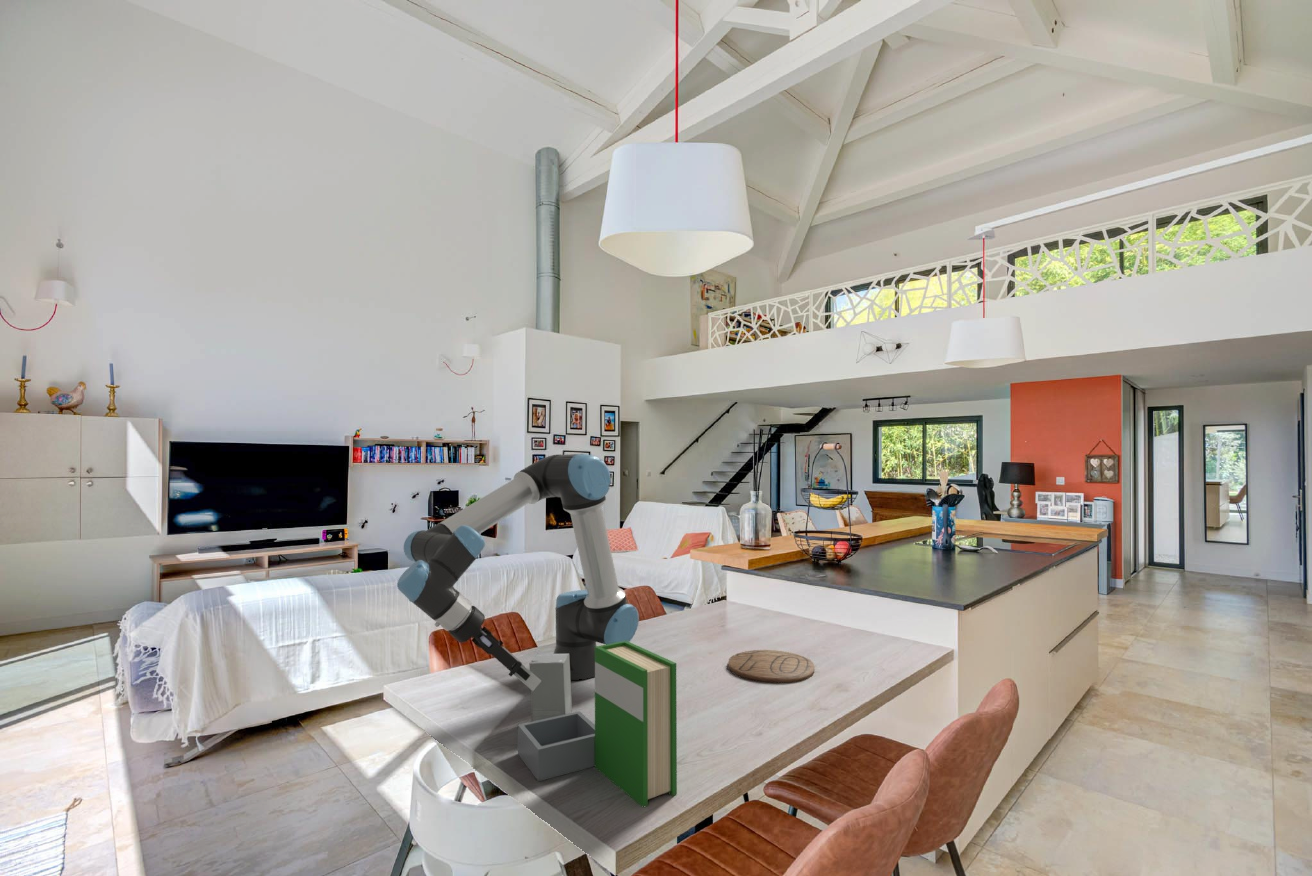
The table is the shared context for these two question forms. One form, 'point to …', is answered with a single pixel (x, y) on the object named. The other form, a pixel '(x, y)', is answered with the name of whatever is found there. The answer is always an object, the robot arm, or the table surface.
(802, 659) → the trivet
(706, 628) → the table surface
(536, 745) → the bin
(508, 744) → the table surface
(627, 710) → the hardback book
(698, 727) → the table surface
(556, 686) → the skincare box
